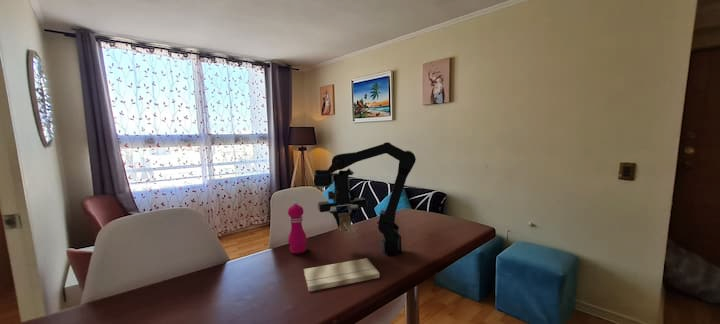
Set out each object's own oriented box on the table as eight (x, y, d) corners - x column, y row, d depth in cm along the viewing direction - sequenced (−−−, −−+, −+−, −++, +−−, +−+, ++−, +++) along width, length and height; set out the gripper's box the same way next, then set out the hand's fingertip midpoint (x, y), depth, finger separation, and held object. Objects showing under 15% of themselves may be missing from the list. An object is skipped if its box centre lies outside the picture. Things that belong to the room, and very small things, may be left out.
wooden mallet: (346, 225, 115) (346, 212, 114) (358, 238, 99) (357, 223, 99) (337, 227, 114) (336, 213, 113) (347, 240, 98) (346, 224, 98)
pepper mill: (302, 254, 110) (300, 203, 108) (285, 253, 111) (282, 203, 110) (309, 247, 117) (307, 199, 115) (293, 246, 118) (290, 199, 117)
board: (367, 262, 101) (366, 258, 101) (379, 277, 89) (379, 272, 89) (304, 273, 94) (303, 268, 94) (308, 291, 83) (308, 286, 83)
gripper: (358, 181, 120) (360, 217, 122) (314, 185, 115) (316, 223, 116) (367, 185, 110) (369, 225, 111) (319, 190, 104) (321, 231, 105)
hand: (343, 226), depth 111 cm, fingers closed on wooden mallet, 4 cm apart
